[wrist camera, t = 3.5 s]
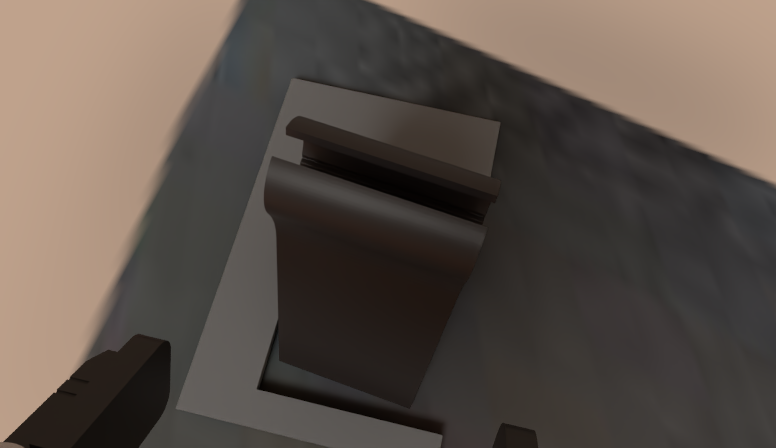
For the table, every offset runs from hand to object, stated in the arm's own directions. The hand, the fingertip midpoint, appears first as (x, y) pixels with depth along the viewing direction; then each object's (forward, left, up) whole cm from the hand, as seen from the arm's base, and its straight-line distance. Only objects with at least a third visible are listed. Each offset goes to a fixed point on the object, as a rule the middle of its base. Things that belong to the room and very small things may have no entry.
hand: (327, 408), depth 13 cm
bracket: (+2, -7, -11) cm, 13 cm away
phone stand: (0, -6, -11) cm, 13 cm away
